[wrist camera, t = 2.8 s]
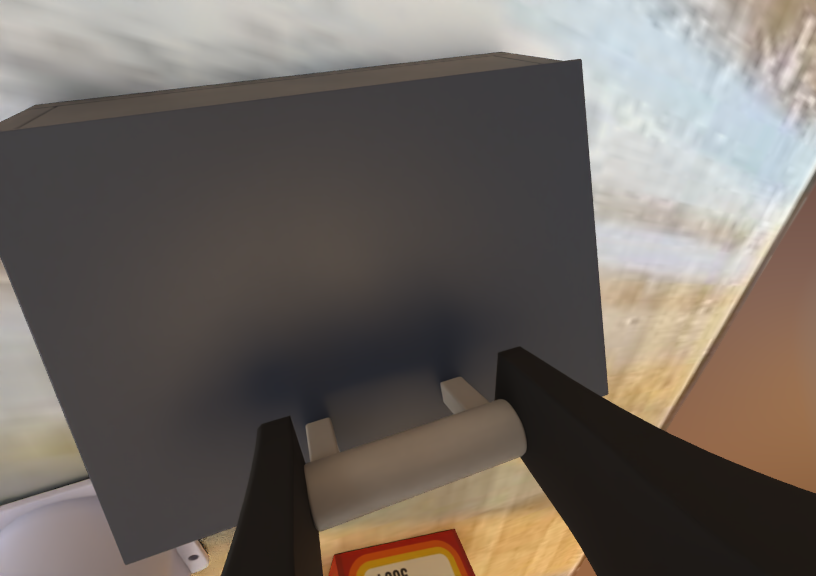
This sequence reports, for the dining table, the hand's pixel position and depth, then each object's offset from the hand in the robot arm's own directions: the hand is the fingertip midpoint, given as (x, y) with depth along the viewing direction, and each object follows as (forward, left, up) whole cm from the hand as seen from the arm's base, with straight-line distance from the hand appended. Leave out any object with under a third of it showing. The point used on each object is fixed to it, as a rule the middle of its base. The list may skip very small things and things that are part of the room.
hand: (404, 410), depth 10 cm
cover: (+1, 0, -4) cm, 4 cm away
